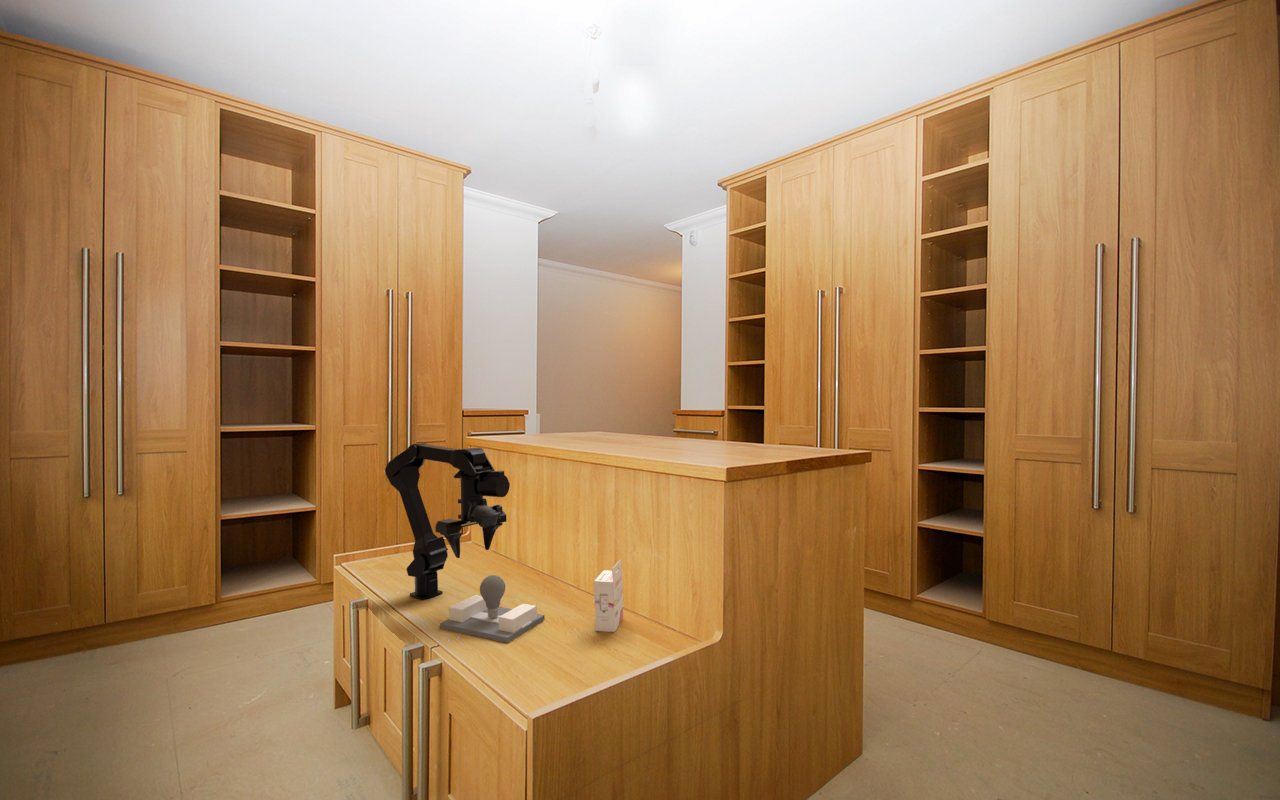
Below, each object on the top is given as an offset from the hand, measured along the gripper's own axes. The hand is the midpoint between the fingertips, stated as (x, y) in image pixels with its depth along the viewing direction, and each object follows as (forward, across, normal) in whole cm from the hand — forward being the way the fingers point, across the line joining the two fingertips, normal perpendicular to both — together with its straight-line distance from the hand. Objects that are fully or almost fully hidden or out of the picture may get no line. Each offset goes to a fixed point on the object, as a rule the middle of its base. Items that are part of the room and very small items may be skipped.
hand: (472, 553), depth 147 cm
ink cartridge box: (+13, +10, -39) cm, 42 cm away
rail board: (+13, -6, -16) cm, 21 cm away
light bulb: (+12, -6, -16) cm, 20 cm away
